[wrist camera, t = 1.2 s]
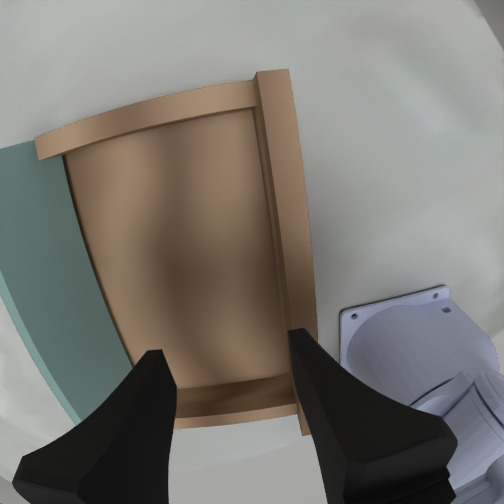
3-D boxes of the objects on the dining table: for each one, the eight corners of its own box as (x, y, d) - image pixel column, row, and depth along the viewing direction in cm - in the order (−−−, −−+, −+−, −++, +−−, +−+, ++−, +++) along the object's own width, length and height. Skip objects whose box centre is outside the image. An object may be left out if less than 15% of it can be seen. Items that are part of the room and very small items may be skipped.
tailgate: (57, 134, 15) (-31, 158, 9) (151, 406, 22) (115, 464, 17) (45, 140, 15) (-39, 164, 10) (139, 403, 22) (102, 458, 17)
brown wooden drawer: (267, 88, 17) (288, 68, 11) (302, 368, 24) (320, 432, 18) (59, 138, 17) (-3, 148, 11) (143, 389, 24) (129, 450, 18)
